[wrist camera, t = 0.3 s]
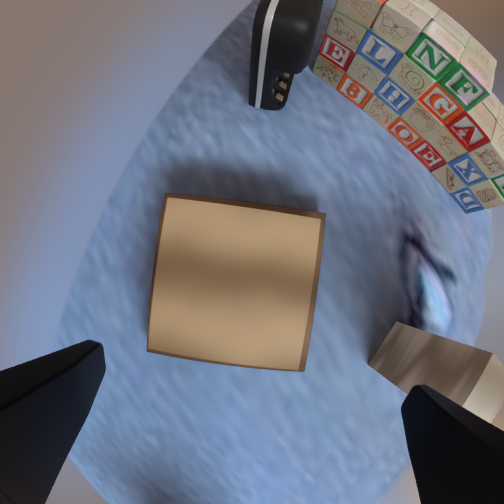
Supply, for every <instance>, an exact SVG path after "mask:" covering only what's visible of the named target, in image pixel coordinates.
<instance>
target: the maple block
mask: <svg viewBox="0 0 504 504" xmlns="http://www.w3.org/2000/svg"><path fill="white" fill-rule="evenodd" d="M320 222H321V219H317V218H311V217H305V216H299V215H293V214H286V213H280V212H274V211H267V210H260V209H254V208H247V207H240V206H233V205H225V204H218V203H210V202H202V201H194V200H186V199H177V198H169V197H168V199H167V204H166V209H165V215H164V221H163V226H162V232H161V239H160V245H159V252H158V259H157V266H156V273H155V281H154V289H153V298H152V308H151V318H150V330H149V343H148V349H153V350H158V351H162V352H167V353H172V354H178V355H183V356H188V357H194V358H200V359H206V360H213V361H219V362H226V363H233V364H241V365H249V366H258V367H268V368H279V369H291V370H298V369H299V364H300V359H301V353H302V348H303V342H304V336H305V331H306V325H307V319H308V312H309V306H310V299H311V293H312V286H313V279H314V271H315V264H316V256H317V248H318V240H319V231H320Z"/></svg>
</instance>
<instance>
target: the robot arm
mask: <svg viewBox="0 0 504 504" xmlns="http://www.w3.org/2000/svg"><path fill="white" fill-rule="evenodd" d="M105 370H106V365H105V357H104V349H103V345H102V344H101V343H99V342H96V341H93V340H86V341H83V342H81V343H78V344H75V345H72V346H70V347H67V348H64V349H61V350H59V351H56V352H53V353H50V354H48V355H45V356H42V357H39V358H36V359H34V360H31V361H28V362H25V363H22V364H19V365H16V366H14V367H11V368H8V369H5V370H2V371H0V504H45V503H46V500H47V498H48V496H49V494H50V491H51V489H52V487H53V485H54V483H55V480H56V478H57V476H58V474H59V472H60V470H61V468H62V466H63V463H64V462H65V460H66V458H67V456H68V453H69V451H70V449H71V447H72V446H73V444H74V442H75V440H76V438H77V436H78V434H79V432H80V430H81V428H82V426H83V424H84V422H85V420H86V418H87V416H88V414H89V412H90V409H91V407H92V404H93V402H94V399H95V396H96V394H97V391H98V389H99V387H100V384H101V382H102V379H103V377H104V374H105ZM401 413H402V418H403V424H404V429H405V435H406V441H407V447H408V452H409V456H410V460H411V463H412V467H413V471H414V475H415V479H416V484H417V487H418V492H419V497H420V502H421V504H504V431H502V430H501V429H499V428H497V427H495V426H494V425H492V424H490V423H489V422H487V421H485V420H484V419H482V418H480V417H479V416H477V415H475V414H474V413H472V412H470V411H469V410H467V409H465V408H464V407H462V406H460V405H459V404H457V403H455V402H454V401H452V400H450V399H449V398H447V397H445V396H444V395H442V394H441V393H439V392H437V391H436V390H434V389H432V388H431V387H429V386H428V385H425V384H420V385H414V386H413V387H412V388H411V390H410V392H409V393H408V395H407V397H406V399H405V400H404V402H403V404H402V406H401Z"/></svg>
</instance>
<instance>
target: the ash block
mask: <svg viewBox="0 0 504 504" xmlns="http://www.w3.org/2000/svg"><path fill="white" fill-rule="evenodd" d="M368 365H369V366H370V367H372V368H373V369H374V370H376V371H377V372H378V373H380V374H381V375H382V376H384V377H385V378H386V379H388V380H389V381H390V382H392V383H393V384H394V385H396V386H397V387H398V388H400V389H401V390H403V391H404V392H405V393H407V394H408V393H409V392H410V390H411V388H412V387H413V386H414V385H420V384H425V385H428V386H429V387H431V388H432V389H434V390H436V391H437V392H439V393H441V394H442V395H444V396H445V397H447V398H449V399H450V400H452V401H454V402H455V403H457V404H459V405H460V406H462V407H464V408H465V409H467V410H469V411H470V412H472V413H474V414H475V415H477V416H479V417H480V418H482V419H484V420H485V421H487V422H489V423H491V422H492V420H493V419H494V417H495V416H496V414H497V412H498V410H499V409H500V407H501V406H502V404H503V402H504V365H503V364H502V363H501V362H500V361H499V359H498V358H497V357H496V356H495V355H494V354H493V353H490V352H487V351H484V350H481V349H478V348H475V347H472V346H469V345H466V344H462V343H459V342H456V341H453V340H450V339H447V338H444V337H441V336H438V335H435V334H432V333H429V332H426V331H423V330H420V329H417V328H414V327H411V326H408V325H405V324H402V323H399V322H395V324H394V325H393V327H392V329H391V330H390V332H389V333H388V335H387V336H386V338H385V340H384V341H383V343H382V344H381V346H380V347H379V349H378V350H377V352H376V353H375V354H374V356H373V357H372V359H371V360H370V362H369V363H368Z"/></svg>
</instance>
